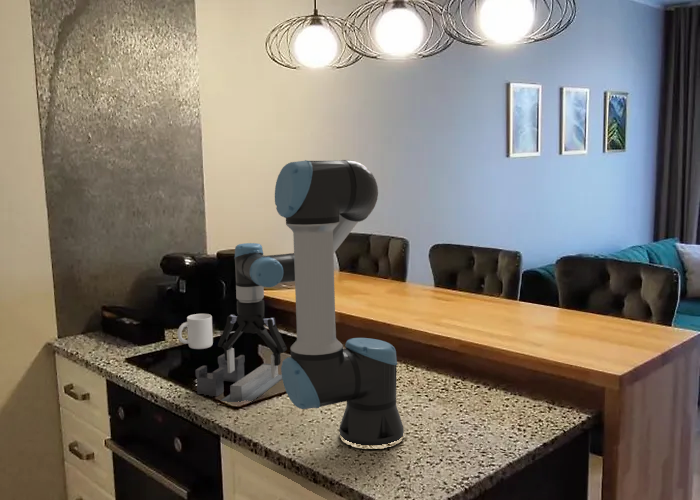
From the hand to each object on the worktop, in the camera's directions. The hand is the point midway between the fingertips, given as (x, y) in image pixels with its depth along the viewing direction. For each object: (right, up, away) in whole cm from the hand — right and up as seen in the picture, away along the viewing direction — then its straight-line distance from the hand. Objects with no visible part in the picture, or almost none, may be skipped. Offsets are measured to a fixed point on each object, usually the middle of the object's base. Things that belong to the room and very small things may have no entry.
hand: (252, 374), depth 192 cm
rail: (0, -4, +1) cm, 4 cm away
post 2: (-8, -3, +10) cm, 13 cm away
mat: (0, -5, +1) cm, 5 cm away
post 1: (-12, -5, -1) cm, 13 cm away
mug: (-26, +1, +42) cm, 50 cm away
